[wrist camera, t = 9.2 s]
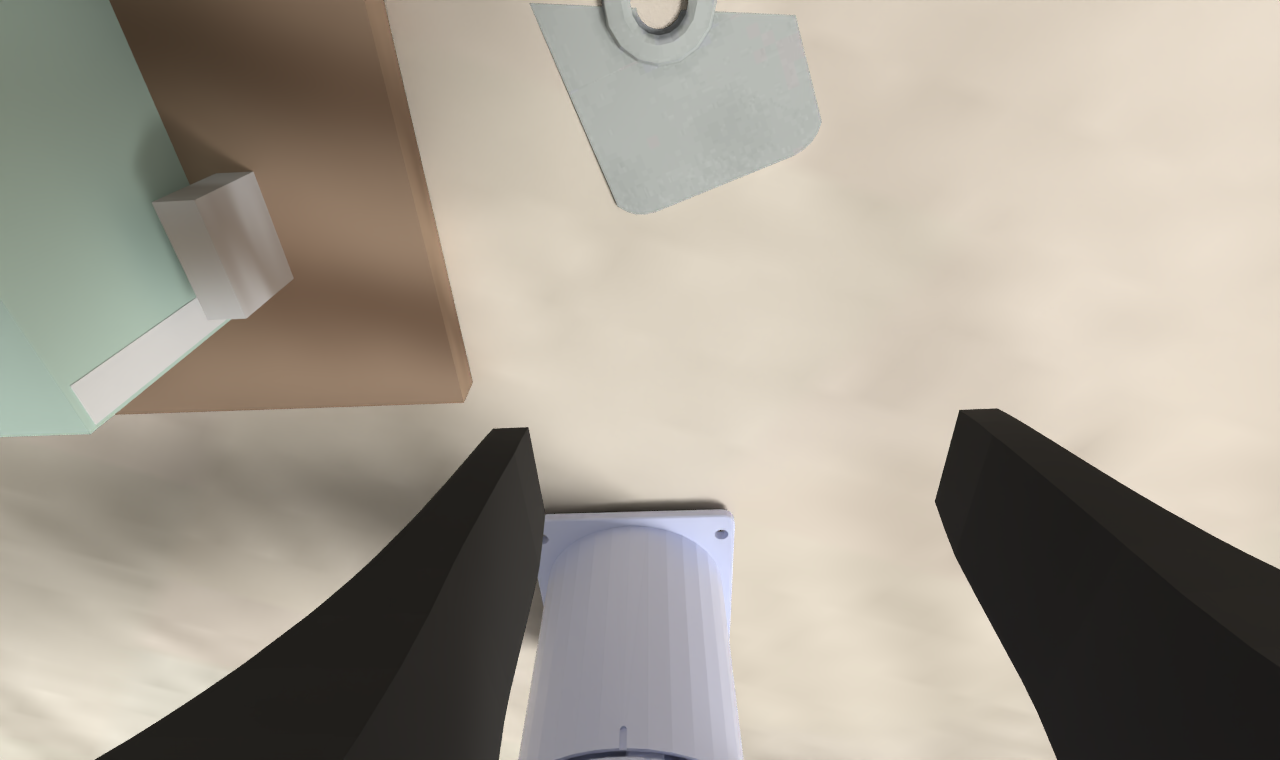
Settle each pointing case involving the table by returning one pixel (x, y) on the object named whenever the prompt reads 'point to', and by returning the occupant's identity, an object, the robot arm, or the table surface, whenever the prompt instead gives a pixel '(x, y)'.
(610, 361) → the table surface
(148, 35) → the cabinet base
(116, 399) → the door panel
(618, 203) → the mounting bracket
